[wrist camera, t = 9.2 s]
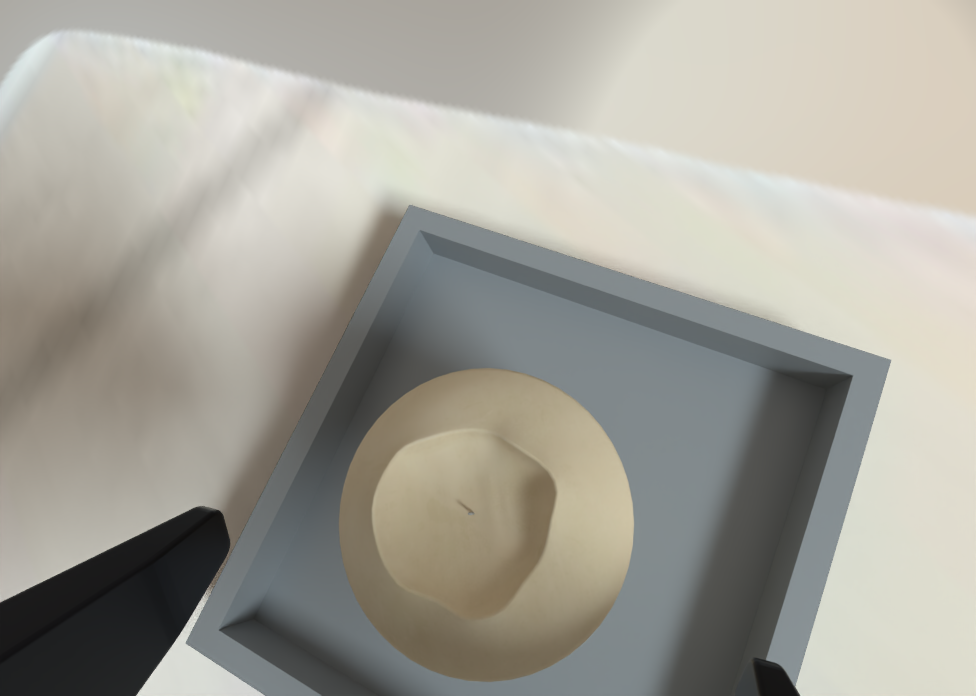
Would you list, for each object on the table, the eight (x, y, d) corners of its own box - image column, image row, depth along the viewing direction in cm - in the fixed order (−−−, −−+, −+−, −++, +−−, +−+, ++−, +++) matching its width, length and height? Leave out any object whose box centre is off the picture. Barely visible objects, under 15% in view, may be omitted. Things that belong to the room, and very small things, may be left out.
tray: (689, 911, 15) (707, 984, 13) (234, 627, 20) (185, 643, 17) (852, 380, 18) (891, 360, 16) (428, 237, 23) (409, 204, 20)
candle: (590, 413, 19) (589, 312, 9) (635, 586, 17) (690, 676, 8) (434, 448, 19) (287, 387, 10) (462, 619, 18) (316, 740, 8)
